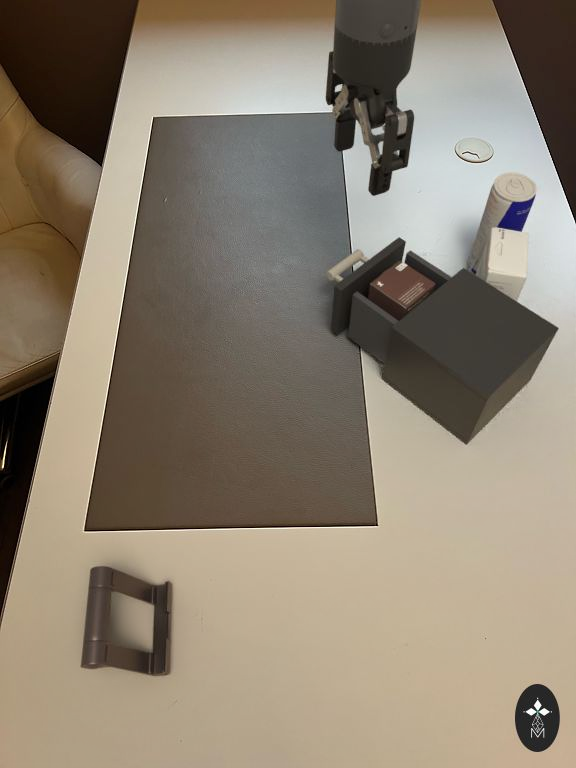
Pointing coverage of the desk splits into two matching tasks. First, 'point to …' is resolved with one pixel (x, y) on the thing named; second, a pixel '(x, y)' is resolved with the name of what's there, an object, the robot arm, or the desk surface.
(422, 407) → the cabinet
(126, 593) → the tablet stand
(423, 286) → the box
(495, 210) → the beverage can
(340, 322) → the drawer
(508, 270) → the ink box
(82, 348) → the desk surface
